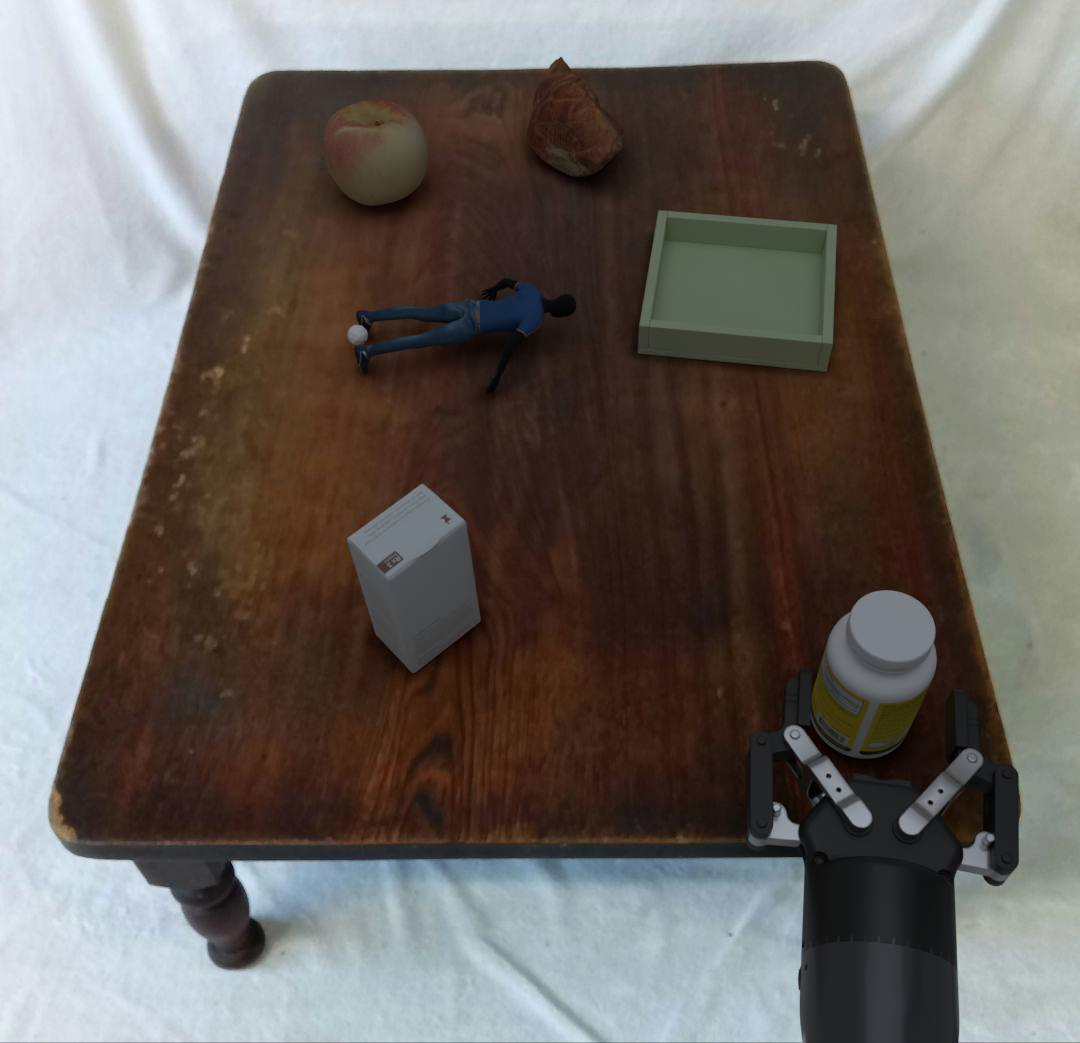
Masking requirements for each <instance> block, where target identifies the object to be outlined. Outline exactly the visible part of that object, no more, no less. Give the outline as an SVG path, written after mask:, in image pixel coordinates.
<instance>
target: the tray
mask: <svg viewBox="0 0 1080 1043" xmlns="http://www.w3.org/2000/svg"><path fill="white" fill-rule="evenodd" d="M837 237H838V225H837V224H831V223H821V222H820V223H819V222H809V221H796V220H784V219H772V218H771V219H770V218H759V217H748V216H747V217H746V216H737V215H736V216H735V215H734V216H733V215H723V214H713V213H711V214H710V213H699V212H698V213H697V212H687V211H674V210H661V209H660V210H658V211H657V216H656V222H655V227H654V233H653V240H652V246H651V252H650V258H649V264H648V270H647V276H646V282H645V288H644V294H643V298H642V299H643V300H642V305H641V311H640V318H639V324H638V339H637V340H638V341H637V342H638V343H637V354H638V355H639V354H640V355H650V356H658V357H659V356H660V357H671V358H681V359H691V360H701V361H711V362H722V363H729V364H730V363H731V364H742V365H751V366H753V365H754V366H761V367H762V366H763V367H772V368H783V369H793V370H803V371H814V372H822V373H823V372H824V373H827V371H828V367H829V363H830V358H831V353H832V350H833V345H834V327H835V325H834V324H835V298H836V293H835V292H836V269H837V268H836V266H837Z"/></svg>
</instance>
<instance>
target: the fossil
mask: <svg viewBox="0 0 1080 1043" xmlns="http://www.w3.org/2000/svg"><path fill="white" fill-rule="evenodd" d="M625 132H626V131H625V128H624V126H623V125H622V123H620V122H618V121H617V120H616V119H615V118H613V116H612V115H611V114H610V113H609V112H608V111H607V110H606V109H604V108H603V107H601V105H600V101H599V99H598V96H597V94H596V93H595V92H594V90H593V89H592V88H591V87H590V85H589V84H588V82H587V81H586V80H585V78H584V76H583V75H580V74H578V73H575V71H573V70H572V69H571V68H570V66H569V65H568V63H567V62H566V61H565V60H564V58H563V57H562V56H559V58H557V59H555V60H554V61H552V63H551V64H550V65H549V67H548V69H547V70H546V71H545V73H544V74H543V76H542V78H541V80H540V81H539V84H538V86H537V88H536V90H535V94H534V98H533V109H532V113H531V116H530V119H529V123H528V124H527V130H526V134H525V135H526V141H527V143H528V146H529V147H530V149H532V150H533V151H534V153H535V155H537V156H538V157H539V158H540V159H541V160H543V161H544V162H545V163H547V164H548V165H549V166H551V167H552V168H554V169H556V170H557V171H559V172H560V173H564V174H565V175H567V176H569V177H573V178H585V177H589V176H592V175H593V176H594V175H595V174H597V173H598V172H600V171H601V170H602V169H603V168H604V167H605V166H606V165H607V164H608V163H609V162H610V161H612V159H613V158H614V157H615V155H616V154H618V153H619V152H620V151H621V150H622V149H623V142H622V140H623V138H624V135H625Z"/></svg>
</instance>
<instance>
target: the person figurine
mask: <svg viewBox="0 0 1080 1043" xmlns="http://www.w3.org/2000/svg"><path fill="white" fill-rule="evenodd" d="M507 288H508V289H511V290H514V291H515V293H514V294H512V295H510V296H507V297H504V298H501V299H498V300H496V299H497V295H498V292H499V291H502V290H505V289H507ZM480 295H481V297H482V296H483V299H480V300H479V299H476V298H471V297H470V298H466V299H464V300H462V301H450V302H443V303H440V304H437V305H434V306H426V307H425V306H424V307H421V306H416V305H415V306H413V305H399V306H392V307H387V308H381V309H376V310H371V311H369V310H368V309H359V310H357V311H356V314H355V317H356V318H355V319H356V321H357V323H358V324H354V325H352V326H350V327H349V329H348V331H347V333H346V334H347V336H346V337H347V340H348V341H349V343H350V344H352V345H353V346H354V347H353V348H354V355H355V359H356V361H357V365H358V368H359V371H360V372H361V373H362V374H366V373H367V372H368V370H369V364H370V360H371V359H372V358H373V357H376V356H380V355H385V354H390V353H391V354H392V353H396V352H401V351H406V350H416V349H417V350H418V349H424V348H428V347H429V348H430V347H435V346H442V347H443V346H444V347H446V346H451V345H453V346H454V345H457V344H462V343H464V342H467V341H471V340H472V339H474V338H476V337H479V336H483V335H489V334H493V333H499V332H506V333H507V332H508V333H513V334H512V335H511V336H510V337H509V338H508V339H507V341H506V342H505V345H504V348H503V350H502V352H501V355H500V359H499V362H498V366H497V370H496V373H495V376H494V377H493V378H492V379H491V382H490V384H489V386H487V387H486V388H485V391H486V390H487V391H486V392H485V394H486V395H487V396H489V395H490V394H493V393H494V392H495V391H496V389H497V387H498V386H499V383H500V382H501V378H502V376H503V374H504V372H505V370H506V367H507V366H508V364H509V362H510V360H511V358H512V356H513V354H514V351H515V350H516V348H517V347H518V346H519V345H520V344H521V343H522V342H523V341H524V340H525V339H526V338H527V337H529V336H531V335H533V334H534V333H536V332H537V331H538V330H540V328H541V326H542V324H543V319H544V315H545V314H550V316H551V317H552V318H556V319H558V318H560V319H561V318H568V317H571V316H572V315H573V314H574V313H575V312H576V310H577V301H576V298H575V296H573V295H572V294H569V293H563V294H560V295H558V296H557V297H556V298H554V299H548V298H545V297H544V295H543V294H542V292H541V290H539V289H538V287H537V286H535V285H534V284H531V283H527V282H523V281H519V280H515V279H512V278H509V277H505V278H502V279H500V280H499V281H498V282H497V283H496V284H495V285H493V286H490V287H488V288H486V289H483V290H481V294H480ZM400 320H415V321H419V322H423V323H434V324H435V323H436V324H443V325H440V326H438V327H436V328H433V329H432V330H427V331H425V332H421V333H418V334H413V335H405V336H401V337H397V338H394V339H390V340H387V341H383V342H379V343H375V344H371V345H364V344H365V343H367V341H368V339H369V337H370V331H371V328H372V326H373V324H374V323H377V322H383V321H400Z"/></svg>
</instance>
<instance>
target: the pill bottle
mask: <svg viewBox="0 0 1080 1043" xmlns="http://www.w3.org/2000/svg"><path fill="white" fill-rule="evenodd" d="M936 631H937V630H936V625H935V621H934V618H933V616H932V614H931V612H930V611H929V610H928V608H927V607H926V606H925V605H924V604H923V603H922V602H921V601H919V600H917V598H915V597H913V596H911V595H910V594H907V593H903V592H901V591H898V590H897V591H896V590H890V589H889V590H888V589H886V590H885V589H884V590H881V589H880V590H876V591H872V592H870V593H867V594H865V595H863V596H862V597H861V598H859V599H858V600H857V602H855V603H854V605H853V606H852V608H851V610H850V612H848V613H846V614H844V615H843V616H842V617H841V618H840V619H839V620H838V621H837V622H836V624H835V625H834V626H833V627H832V630H831V631H830V633H829V636H828V638H827V641H826V645H825V648H824V652H823V655H822V658H821V662H820V665H819V669H818V671H817V676H816V678H815V681H814V686H813V687H812V696H811V724H812V726H813V728H814V731H815V732H816V733H817V735H818V736H819V737H820V738H821V740H822V741H823V742H824V743H825V744H826V745H827V746H829V747H830V748H832V749H833V750H835V751H836V752H838V753H840V754H841V755H845V756H847V757H851V758H855V759H861V760H862V759H865V760H866V759H867V760H869V759H877V758H881V757H883V756H886V755H889V753H891V752H893V751H895V750H896V749H898V747H899V746H900V745H901V744H902V743H903V741H904V740H905V739H906V737H907V735H908V733H909V731H910V729H911V727H912V726H913V723H914V720H915V718H916V717H917V714H918V712H919V710H920V708H921V706H922V703H923V702H924V699H925V697H926V695H927V692H928V690H929V688H930V686H931V683H932V681H933V679H934V677H935V673H936V669H937V664H938V663H937V662H938V656H937V650H936V645H935V640H936Z"/></svg>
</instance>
